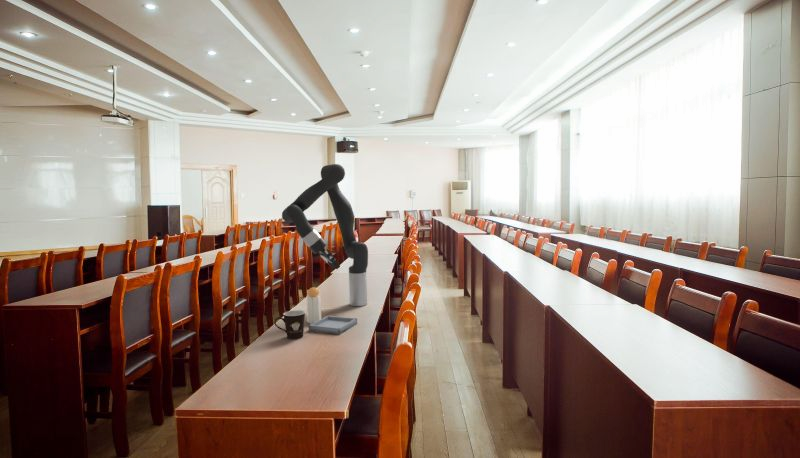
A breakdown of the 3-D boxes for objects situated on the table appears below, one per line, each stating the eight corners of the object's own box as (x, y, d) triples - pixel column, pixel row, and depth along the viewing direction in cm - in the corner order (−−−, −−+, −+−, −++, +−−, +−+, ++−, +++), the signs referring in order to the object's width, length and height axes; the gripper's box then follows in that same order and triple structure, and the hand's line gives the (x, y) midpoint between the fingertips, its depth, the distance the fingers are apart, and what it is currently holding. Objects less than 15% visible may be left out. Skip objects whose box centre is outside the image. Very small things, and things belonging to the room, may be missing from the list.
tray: (328, 320, 204) (328, 315, 204) (357, 323, 198) (357, 318, 198) (309, 331, 189) (308, 325, 189) (339, 334, 183) (339, 328, 183)
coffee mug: (308, 333, 185) (307, 310, 184) (302, 340, 177) (301, 316, 176) (281, 333, 186) (280, 310, 185) (274, 340, 178) (272, 315, 177)
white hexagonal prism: (312, 319, 207) (311, 294, 206) (323, 320, 205) (322, 294, 204) (305, 322, 201) (304, 296, 200) (316, 324, 199) (315, 297, 198)
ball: (311, 296, 205) (311, 285, 205) (321, 297, 203) (320, 286, 203) (305, 298, 201) (305, 288, 200) (315, 299, 199) (315, 288, 198)
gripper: (323, 235, 199) (346, 262, 202) (318, 237, 212) (339, 262, 215) (310, 245, 197) (333, 273, 199) (306, 247, 210) (327, 272, 213)
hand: (336, 267), depth 207 cm, fingers open, 8 cm apart
